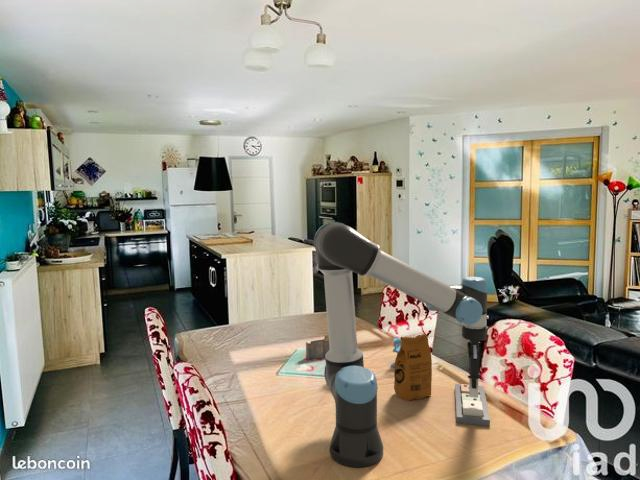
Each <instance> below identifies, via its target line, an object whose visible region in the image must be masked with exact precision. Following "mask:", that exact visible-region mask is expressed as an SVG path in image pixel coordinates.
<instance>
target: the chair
mask: <svg viewBox="0 0 640 480" xmlns="http://www.w3.org/2000/svg"><path fill="white" fill-rule="evenodd" d="M392 341H393V346H394V348H393V349H392V353H396V355H397V354H398V352H399V350H400V347H401V345H402V342H401V341H402V340H401V338H399V337H394V338H393V340H392ZM394 365H395V362H393V363H390V368H394V369H395V366H394Z"/></svg>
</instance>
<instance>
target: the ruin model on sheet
mask: <svg viewBox="0 0 640 480" xmlns="http://www.w3.org/2000/svg"><path fill="white" fill-rule="evenodd" d="M329 350H330V348H329V335H328V334H324V338H322V339H317V340H316V339H315V340H310V342H307V341H305V355H306V359H307V360H308V359H310V360H315V358H316V359H321V358H325V355H326V353H327V352H328V351H329Z"/></svg>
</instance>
